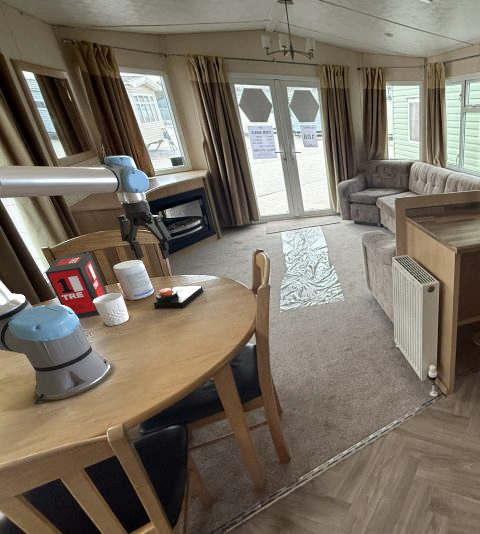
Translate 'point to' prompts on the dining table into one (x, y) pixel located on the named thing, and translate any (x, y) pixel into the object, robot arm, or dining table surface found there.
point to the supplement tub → (133, 279)
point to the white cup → (111, 308)
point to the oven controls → (178, 297)
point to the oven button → (165, 292)
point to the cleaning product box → (77, 283)
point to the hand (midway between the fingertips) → (153, 257)
